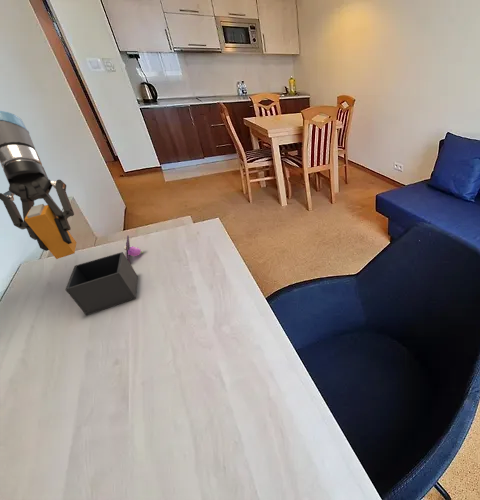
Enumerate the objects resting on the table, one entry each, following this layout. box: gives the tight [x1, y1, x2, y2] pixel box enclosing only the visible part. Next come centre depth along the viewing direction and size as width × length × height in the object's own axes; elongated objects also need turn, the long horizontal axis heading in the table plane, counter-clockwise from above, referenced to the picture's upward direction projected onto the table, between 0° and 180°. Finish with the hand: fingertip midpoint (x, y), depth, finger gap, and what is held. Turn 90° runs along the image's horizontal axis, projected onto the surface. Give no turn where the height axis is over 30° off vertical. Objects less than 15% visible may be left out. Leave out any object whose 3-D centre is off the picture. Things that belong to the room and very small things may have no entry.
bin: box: [65, 251, 138, 316], centre depth 88 cm, size 12×12×10 cm
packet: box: [23, 203, 77, 260], centre depth 79 cm, size 4×7×13 cm, turn 34°
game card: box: [123, 235, 144, 262], centre depth 106 cm, size 7×5×9 cm
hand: (56, 245), depth 78 cm, fingers closed on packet, 4 cm apart
